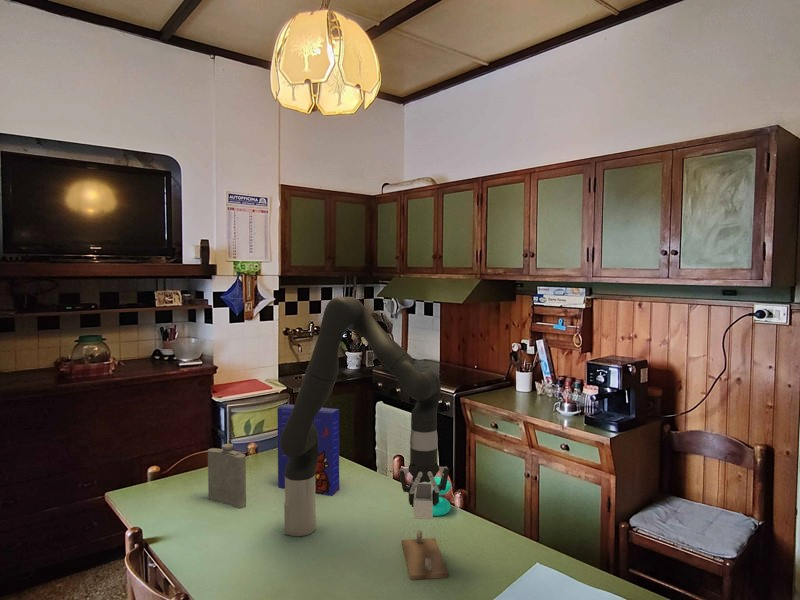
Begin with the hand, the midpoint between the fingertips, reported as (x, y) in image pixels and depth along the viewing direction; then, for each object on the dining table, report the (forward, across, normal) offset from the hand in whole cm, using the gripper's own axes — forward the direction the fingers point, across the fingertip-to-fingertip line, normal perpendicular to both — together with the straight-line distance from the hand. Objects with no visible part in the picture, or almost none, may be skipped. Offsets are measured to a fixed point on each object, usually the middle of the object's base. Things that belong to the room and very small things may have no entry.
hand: (423, 504), depth 145 cm
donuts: (+16, +9, +29) cm, 35 cm away
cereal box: (+16, -34, +51) cm, 63 cm away
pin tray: (+16, 0, 0) cm, 16 cm away
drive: (+1, 0, 0) cm, 1 cm away
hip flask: (+15, -61, +43) cm, 76 cm away
